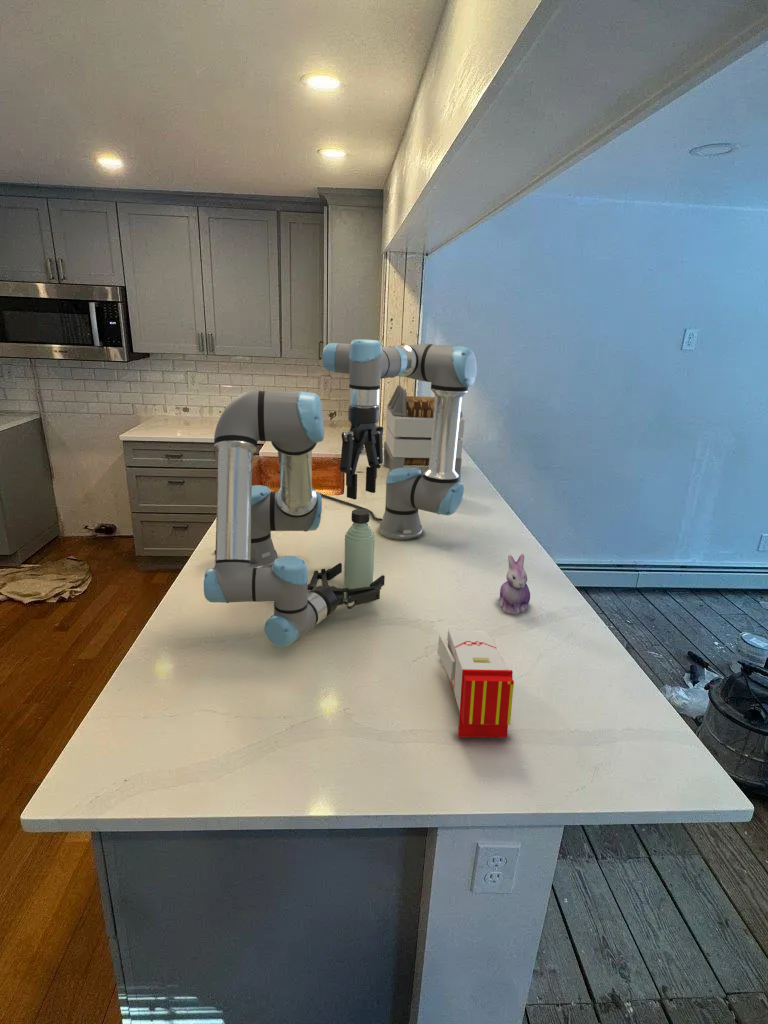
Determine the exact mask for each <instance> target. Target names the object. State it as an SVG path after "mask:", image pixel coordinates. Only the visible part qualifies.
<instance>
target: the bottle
mask: <svg viewBox="0 0 768 1024" xmlns="http://www.w3.org/2000/svg"><path fill="white" fill-rule="evenodd" d="M375 538H376V536H375V533H374V531H373V529H372V528H371V526H370V525H369V522H368V523H364V524H358V523H354V522H352V524H351V525H350V527H349V528H348V530H346V532H345V535H344V563H343V564H344V565H343V566H344V568H343V571H344V572H343V588H349V589H355V588H362V587H370V584H371V583H372V582H374V569H375V568H374V567H375V566H374V565H375V541H376V539H375ZM344 596H345V598H346V592H344Z"/></svg>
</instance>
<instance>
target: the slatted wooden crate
mask: <svg viewBox="0 0 768 1024" xmlns="http://www.w3.org/2000/svg"><path fill="white" fill-rule="evenodd" d="M407 394H408V393H407V390H406V389H404V388H403V387H402V385H399V384H398V385H397V386H396V388H395V390H394V392H393V394H392V395H391V398H390V400H389V402H388V404H387V405H386V413H385V414H386V415H385V423H386V428H385V438H384V442H383V463H382V464H383V466H384V467H388V468H389V472H390V471H391V470H393V469H397V468H405V466H406V467H409V466H411V467H417V466H418V467H429V458H430V447H431V435H432V424H433V413H434V401H435V396H415V395H414V396H413V395H412V396H411V395H407ZM464 429H465V419H464V418H463V411H461V413H460V422H459V432H458V442H457V452H456V461H455V471H456V473H457V474H458V475H459V477H458V480H459V482H461V472H462V461H463V460H462V453H463V442H464V441H463V440H462V439H463V438H464V431H465V430H464Z"/></svg>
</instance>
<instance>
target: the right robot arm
mask: <svg viewBox="0 0 768 1024" xmlns="http://www.w3.org/2000/svg"><path fill="white" fill-rule="evenodd" d="M321 355H322V357H321V361H322V365H323V367H324V368H325V370H327V371H328V372H333V373H335V374H337V373H338V374H348V375H349V384H348V404H349V406H348V412H347V413H348V414H347V415H348V416H347V417H348V418H347V420H348V421H349V422H350V428H349V431H347V432H345V431H343V432H341V441H342V442H341V443H342V444H341V455H340V462H339V463H340V465H339V471H340V473H344V474H345V486H346V498H348V499H351V500H354V501H355V500H357V499H358V474H357V473H356V471H357V467H358V463H359V459H360V455H361V453H360V451H361V452H362V450H361V449H362V448H363V447H364V449H365V450H364V451H365V454H366V460H367V463H368V466H366V468H365V492H368V493H372V494H375V493H376V487H377V486H376V485H377V476H378V469H381V467H382V464H383V463H384V443H383V435H384V427H383V426H379V425H376V424H377V423H378V422H379V421H380V407H379V405H380V403H381V402H380V401H381V379H389V378H391V379H393V378H396V377H399V378H407V379H411V380H416V381H420V382H427V383H430V390H431V391H432V393H433V394H434V397H435V401H434V413H433V424H432V435H431V447H430V458H429V465H428V468H427V469H426V470H424V471H423V474H422V470H421V468H419V467H413V466H411V467H409V466H406V467H404V468H397V469H393V470H391V471H390V470H389V471H388V473H387V475H386V480H385V504H384V505H385V507H384V508H385V509H384V513H383V515H382V517H381V518H380V517H376V516H375V514H374V512H373V511H372V510H370V509H369V508H366V507H363V506H360V505H357V504H355V503H351V502H349V501H345V500H342V499H339V498H336V497H333V496H330V495H327V494H323V493H320V492H319V493H320V494H321V497H323V498H326V499H329V500H332V501H336V502H338V503H341V504H344V505H347V506H350V507H354V508H355V509H365V510H368V511H369V512H370V513H369V514H370V516H371V517H372V519H373V520H374V521H378V522H379V525H378V533H379V534H380V535H381V536H382V537H385V538H387V539H389V540H395V541H410V540H415V539H418V538H420V537H421V536H422V535H423V525H422V524H421V518H420V515H419V510H420V511H425V512H429V513H433V514H437V515H442V516H452V515H453V514H454V513H456V511H457V510H458V509H459V507H460V505H461V502H462V500H463V496H464V493H465V492H464V491H465V487H464V483H462V482H461V481H460V482H458V477H459V475H458V474H457V473H456V471H455V461H456V452H457V442H458V432H459V422H460V413H461V412H462V403H463V398H464V397H463V396H464V395H466V394H467V393H468V391H469V388H470V387H472V386H474V384H475V382H476V378H477V373H478V367H477V366H478V365H477V359H476V356H475V353H474V351H473V350H472V349H471V348H469V347H466V346H461V345H446V344H432V343H419V344H400V345H397V346H391V345H390V346H382V342H381V341H380V340H377V339H353V340H352V341H351V342H350V343H341V342H329V343H328V344H326V345H325V347H324V348H323V350H322V354H321ZM355 442H356V443H358V444H355ZM277 474H278V475H280V472H279V470H277Z"/></svg>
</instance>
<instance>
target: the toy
mask: <svg viewBox="0 0 768 1024" xmlns="http://www.w3.org/2000/svg"><path fill="white" fill-rule="evenodd" d="M446 640H447V643H446V641H445V639H444V636H443V635H442V634H439V637H438V646H437V656H438V657H439V659H440V661H441V663H442V666H443V668H444V670H445V672H446V674H447V677H448V679H449V681H450V684H451V687H452V690H453V693H454V697H455V701H456V705H457V708H458V711H459V714H458V715H459V716H458V730H457V731H458V732H457V737H458V738H508V731H509V726H510V725H511V717H512V707H513V697H514V696H513V695H514V684H515V680H514V679H513V673H514V671H513V670H512V669H508V667H507V665H506V662H505V661H504V659H503V658H502V655H501V653H500V651H499V649H498V647H497V643H496V639H495V637H494V635H493V634H491V632H490V631H489V629H467V628H466V629H465V628H463V629H461V628H460V629H459V628H448V630H447V639H446Z"/></svg>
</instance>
